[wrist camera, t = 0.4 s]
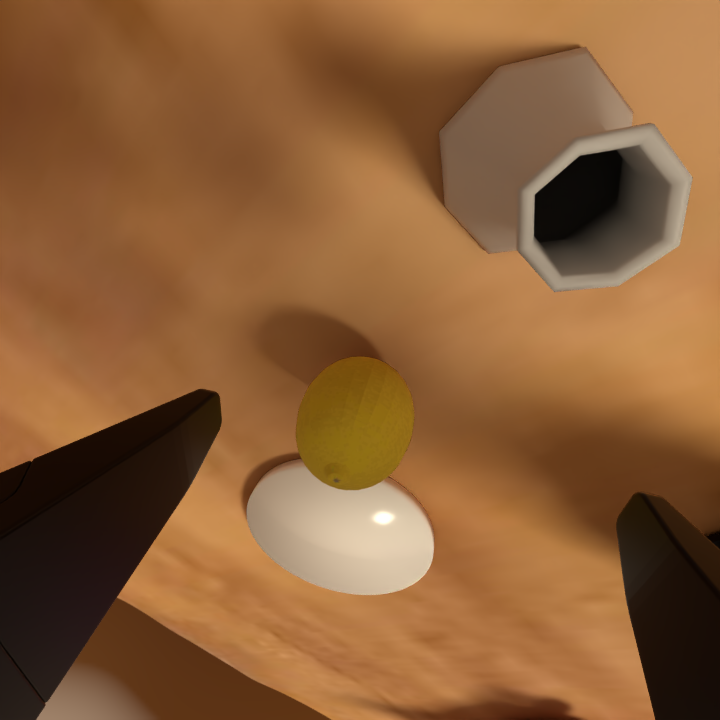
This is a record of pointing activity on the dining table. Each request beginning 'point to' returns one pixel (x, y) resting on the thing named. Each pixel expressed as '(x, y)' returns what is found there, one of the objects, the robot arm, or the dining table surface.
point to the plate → (341, 531)
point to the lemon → (355, 423)
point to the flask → (563, 173)
